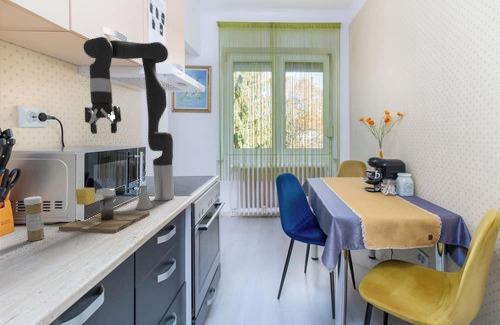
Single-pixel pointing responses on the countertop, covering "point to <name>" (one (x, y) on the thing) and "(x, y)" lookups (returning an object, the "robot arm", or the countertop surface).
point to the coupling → (93, 195)
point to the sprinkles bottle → (34, 218)
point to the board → (106, 222)
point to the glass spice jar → (107, 209)
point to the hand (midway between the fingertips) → (104, 133)
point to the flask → (144, 199)
